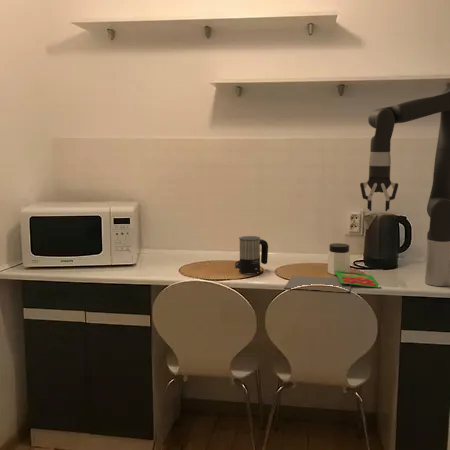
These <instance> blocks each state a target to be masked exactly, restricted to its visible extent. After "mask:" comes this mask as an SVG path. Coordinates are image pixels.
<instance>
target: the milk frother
mask: <svg viewBox="0 0 450 450" xmlns="http://www.w3.org/2000/svg"><path fill="white" fill-rule="evenodd" d="M238 239H239V260H237V261H236V262H235V263H234V267H235V268H237V267H239V268H238V269H239V270H238V272H239V273H240V272H242V273H241V274H243V273H257V272H260V271H261V264H262V265H266V264H268V257H269V256H268V255H269V243H268V242H267V240H265V239H261V237H260V236H256V235H245V236H240V237H239V236H238ZM260 251H261V252H260ZM261 272H262V271H261ZM261 272H260V273H261ZM257 274H258V273H257Z"/></svg>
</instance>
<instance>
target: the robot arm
mask: <svg viewBox="0 0 450 450" xmlns="http://www.w3.org/2000/svg"><path fill="white" fill-rule="evenodd" d="M439 113H440V121H439V130H438V137H437V143H436V150H435V157H434V166H433V173H432V175H433V176H432V177H433V178H432V185H431V191H430V194H429V197H428V201H427V204H426V205H427V206H426V212H427V215H428V217H429V229H428V231H427V234H426V249H425V250H426V253H425V254H426V256H425V257H426V258H425V275H424V284H427V285H429V286H434V287H435V286H436V287H450V85H449V86H447V87H446V88H445V89H444V90H443V92H442V93H441V94H438V95H434V96H429V97H421V98H418V99H417V98H416V99H413V100H408V101H405V102H400V103H399V104H396V105H391V106H387V107H381V108H377V109H373V110H372V111H371V112H370V114H369V115H368V118H367V121H368V124H369V126H370V127H371V128H373V129H375V133H374V135H373V136H372V137H371V139H370V151H369V152H370V153H369V159H368V179H367V181H365V182H360V183H359V185H360V192H361V196H362V199H363V200H367V210H368V211H369V212H372V203H373V202H372V198H373V196H374V193H381V194H382V193H383V194H384V197H385V206H384V208H385V209H384V210H385V212H388V210H390V206H391V205H390V204H391V203H390V202H391V201H393V200H395V199H396V195H397V192H398V188H399V183H398V182H393V181H391V163H392V162H391V160H392V159H391V157H392V156H391V141H392V136H393V134H394V128H395V124H403V123H408V122H411V121H416V120H419V119H421V118H425V117H427V116H428V117H429V116H431V115H432V116H433V115H435V114H439ZM367 186H368V187H369V188H370V192H369V194H368V195H367V194H366V190H365V189H366V188H367ZM390 187H391V188H392V193H391V195H390V196H389V193H388V191H387V190H388V189H389V188H390Z"/></svg>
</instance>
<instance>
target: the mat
mask: <svg viewBox="0 0 450 450" xmlns="http://www.w3.org/2000/svg"><path fill="white" fill-rule="evenodd" d="M311 284H325V285H333V286H339V287H342V288H345V289H348V290H350V291H351V288H352V285H351V284H343V283H341V282H340V280H339V278H338V277H325V276H324V277H323V276H309V275H304V276H303V275H292V276H290V279H288V281H287V283H286V284H285V286H284V287H283V289H284V290H291V288H294V287H297V286H302V285H311Z"/></svg>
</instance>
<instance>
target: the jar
mask: <svg viewBox="0 0 450 450" xmlns="http://www.w3.org/2000/svg"><path fill="white" fill-rule="evenodd" d="M328 246H329V250H328V252H327V253H328V254H327V255H328V256H327V273H328V274H330V275H331V276H332V275H333V276H337V275H336V273H335V271H338V272H347V273H351V272H350V269H351V268H350V267H351V251H350V244H347V243H342V242H341V243H335V242H334V243H330V244H329V245H328Z"/></svg>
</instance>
